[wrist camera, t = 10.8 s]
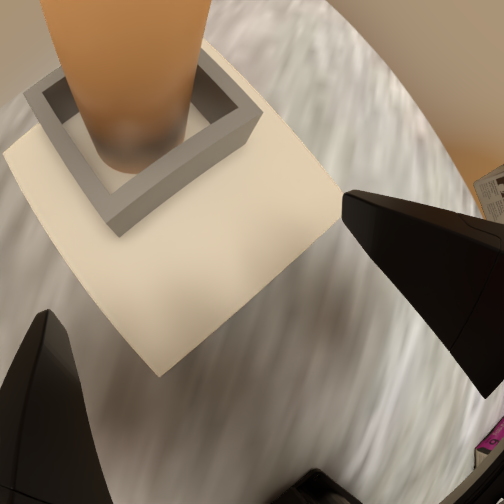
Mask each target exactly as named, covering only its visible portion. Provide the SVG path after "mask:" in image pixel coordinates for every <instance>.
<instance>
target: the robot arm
mask: <svg viewBox="0 0 504 504" xmlns="http://www.w3.org/2000/svg"><path fill="white" fill-rule="evenodd" d="M341 216H342V220H343V222H344V224H345V225H346V227H347V228H348V229H349V230H350V232H351V233H352V234H353V236H354V237H355V238H356V240H357V241H358V242H359V244H360V245H361V246H362V248H363V249H364V250H365V252H366V253H367V254H368V255H369V257H370V258H371V259H372V260H373V261H374V263H375V264H376V265H377V266H378V267H379V268H380V269H381V270H382V271H383V273H384V274H385V275H386V276H387V277H388V278H389V279H390V281H391V282H392V283H393V284H394V285H395V286H396V287H397V289H398V290H399V291H400V292H401V293H402V294H403V296H404V297H405V298H406V299H407V300H408V301H409V303H410V304H411V305H412V306H413V307H414V309H415V310H416V311H417V312H418V313H419V315H420V316H421V317H422V318H423V319H424V321H425V322H426V323H427V324H428V325H429V327H430V328H431V329H432V330H433V332H434V333H435V334H436V335H437V337H438V338H439V339H440V340H441V342H442V343H443V344H444V346H445V347H446V348H447V349H448V351H450V353H451V355H452V356H453V357H454V359H455V360H456V361H457V363H458V364H459V365H460V367H461V368H462V369H463V371H464V372H465V373H466V375H467V376H468V377H469V379H470V380H471V381H472V383H473V384H474V386H475V387H476V388H477V390H478V391H479V393H480V394H481V395H482V396H483V398H484V399H486V398H487V397H488V396H489V395H490V394H491V393H492V392H493V391H494V390H495V389H496V388H497V387H498V386H499V385H500V383H501V382H502V381H503V380H504V224H501V223H497V222H492V221H488V220H484V219H480V218H476V217H472V216H468V215H464V214H461V213H456V212H453V211H449V210H445V209H441V208H437V207H433V206H429V205H425V204H420V203H416V202H412V201H407V200H403V199H398V198H394V197H389V196H384V195H380V194H375V193H370V192H365V191H360V190H351V191H348V192H346V193H344V194H343V196H342V213H341ZM315 475H318V476H317V477H315V478H314V476H315ZM501 498H503V499H504V437H503V438H502V439H501V440H500V442H499V443H498V444H497V445H496V446H495V447H494V449H493V450H492V451H491V452H490V453H489V454H488V456H487V457H486V458H485V459H484V460H483V461H482V462H481V463H480V464H479V465H478V467H477V468H476V469H475V470H474V471H473V472H472V473H471V474H470V475H469V476H468V477H467V478H466V479H465V480H464V481H463V482H462V483H461V484H460V485H459V486H458V487H457V488H456V489H455V490H454V491H453V492H451V493H450V494H449V495H448V496H447V497H446V498H445V499H444V500H443V501H442V502H440V503H439V504H496V503H497V502H498V501H499V500H500V499H501ZM0 504H113V502H112V499H111V496H110V493H109V490H108V487H107V484H106V481H105V478H104V475H103V472H102V469H101V466H100V462H99V459H98V455H97V452H96V448H95V445H94V441H93V437H92V433H91V429H90V425H89V421H88V416H87V412H86V407H85V403H84V398H83V393H82V388H81V383H80V379H79V376H78V372H77V368H76V365H75V361H74V357H73V353H72V350H71V345H70V341H69V337H68V334H67V331H66V329H65V328H64V326H63V325H62V324H61V322H60V321H59V320H58V318H57V317H56V316H55V314H54V313H53V312H52V311H51V310H50V309H47V310H44V311H42V312H40V313H38V314H37V315H36V316H35V318H34V320H33V322H32V324H31V326H30V328H29V329H28V331H27V333H26V335H25V337H24V339H23V341H22V343H21V345H20V347H19V349H18V351H17V353H16V355H15V357H14V359H13V362H12V364H11V366H10V368H9V370H8V372H7V375H6V377H5V379H4V381H3V384H2V386H1V388H0ZM271 504H362V503H361V502H360V501H359V500H358V499H357V498H355V497H354V496H353V495H351V494H350V493H349V492H347V491H346V490H345V489H344V488H342V487H341V486H340V485H338V484H337V483H336V482H335V481H333V480H332V479H331V478H330V477H329V476H327V475H326V474H325V473H324V472H322V471H321V470H320V469H313V470H312V471H310V472H309V473H308V474H307V475H306V476H304V477H303V478H302V479H301V480H300V481H298V482H297V483H296V484H295V485H294V486H292V487H291V488H290V489H289V490H287V491H286V492H285V493H284V494H282V495H281V496H280V497H279V498H277V499H276V500H275V501H273V502H272V503H271ZM499 504H504V500H503V501H502V502H500V503H499Z"/></svg>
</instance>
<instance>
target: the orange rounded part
mask: <svg viewBox="0 0 504 504" xmlns="http://www.w3.org/2000/svg"><path fill="white" fill-rule="evenodd" d="M40 3H41V6H42V9H43V13H44V16H45V19H46V23H47V26H48V29H49V32H50V35H51V38H52V41H53V44H54V47H55V49H56V52H57V55H58V58H59V61H60V64H61V66H62V69H63V72H64V74H65V77H66V80H67V82H68V85H69V87H70V90H71V92H72V95H73V97H74V100H75V102H76V105H77V107H78V110H79V112H80V114H81V117H82V119H83V121H84V124H85V126H86V128H87V131H88V133H89V135H90V138H91V140H92V142H93V144H94V147H95V149H96V151H97V153H98V155H99V157H100V158H101V159H102V160H103V162H104V163H105V164H107V165H108V166H109V167H111V168H112V169H114V170H117V171H119V172H123V173H128V174H139V173H140V172H141V171H143V170H144V169H145V168H147V167H148V166H150V165H151V164H152V163H154V162H155V161H157V160H158V159H159V158H161V157H162V156H164V155H165V154H167V153H168V152H169V151H171V150H172V149H174V148H175V147H177V146H178V145H180V144H181V143H183V141H184V138H185V133H186V126H187V120H188V114H189V108H190V102H191V96H192V90H193V85H194V79H195V74H196V69H197V64H198V59H199V54H200V49H201V44H202V39H203V35H204V30H205V26H206V21H207V17H208V13H209V9H210V4H211V0H40Z"/></svg>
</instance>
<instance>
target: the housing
mask: <svg viewBox="0 0 504 504" xmlns="http://www.w3.org/2000/svg"><path fill="white" fill-rule="evenodd" d="M23 94H24V96H25V98H26V100H27V102H28V103H29V105H30V107H31V109H32V111H33V112H34V114H35V116H36V118H37V119H38V121H39V123H38V124H37V125H35V126H34V127H33V128H32V129H31V130H29V131H28V132H27V133H26V134H24V135H23V136H22V137H21V138H20V139H19V140H17V141H16V142H15V143H14V144H13V145H12V146H11V147H9V148H8V149H7V150H6V151H5V152H4V153H3V155H4V157H5V159H6V161H7V163H8V165H9V167H10V169H11V171H12V173H13V175H14V177H15V179H16V181H17V183H18V184H19V186H20V188H21V190H22V192H23V194H24V195H25V197H26V199H27V201H28V202H29V204H30V206H31V208H32V209H33V211H34V213H35V214H36V216H37V218H38V219H39V221H40V223H41V224H42V226H43V228H44V229H45V231H46V232H47V234H48V236H49V237H50V239H51V240H52V242H53V243H54V245H55V246H56V248H57V250H58V251H59V253H60V254H61V256H62V257H63V258H64V260H65V261H66V263H67V264H68V266H69V267H70V269H71V270H72V272H73V273H74V274H75V276H76V277H77V279H78V280H79V281H80V283H81V284H82V285H83V287H84V288H85V290H86V291H87V292H88V294H89V295H90V296H91V298H92V299H93V300H94V301H95V303H96V304H97V305H98V307H99V308H100V309H101V311H102V312H103V313H104V314H105V316H106V317H107V318H108V319H109V321H110V322H111V323H112V324H113V326H114V327H115V328H116V329H117V330H118V332H119V333H120V334H121V335H122V336H123V338H124V339H125V340H126V341H127V342H128V343H129V345H130V346H131V347H132V348H133V349H134V350H135V352H136V353H137V354H138V355H139V356H140V357H141V358H142V359H143V361H144V362H145V363H146V364H147V365H148V366H149V367H150V368H151V369H152V370H153V372H154V373H155V374H156V375H157V376H158V377H159V378H160V377H161V376H162V375H163V374H165V373H166V372H167V371H168V370H169V369H170V368H172V367H173V366H174V365H175V364H176V363H178V362H179V361H180V360H181V359H182V358H184V357H185V356H186V355H187V354H188V353H189V352H191V351H192V350H193V349H194V348H195V347H196V346H198V345H199V344H200V343H201V342H202V341H203V340H205V339H206V338H207V337H208V336H209V335H210V334H212V333H213V332H214V331H215V330H216V329H217V328H218V327H220V326H221V325H222V324H223V323H224V322H225V321H226V320H228V319H229V318H230V317H231V316H232V315H233V314H234V313H236V312H237V311H238V310H239V309H240V308H241V307H242V306H244V305H245V304H246V303H247V302H248V301H249V300H250V299H251V298H253V297H254V296H255V295H256V294H257V293H258V292H259V291H260V290H262V289H263V288H264V287H265V286H266V285H267V284H268V283H269V282H271V281H272V280H273V279H274V278H275V277H276V276H277V275H278V274H279V273H281V272H282V271H283V270H284V269H285V268H286V267H287V266H288V265H289V264H290V263H292V262H293V261H294V260H295V259H296V258H297V257H298V256H299V255H300V254H301V253H302V252H304V251H305V250H306V249H307V248H308V247H309V246H310V245H311V244H312V243H313V242H314V241H315V240H317V239H318V238H319V237H320V236H321V235H322V234H323V233H324V232H325V231H326V230H327V229H328V228H329V227H331V226H332V225H333V224H334V223H335V222H336V221H337V220H338V219H339V218H340V217H341V213H342V196H343V192H342V191H341V190H340V188H339V187H338V186H337V185H336V183H335V182H334V181H333V179H332V178H331V177H330V176H329V174H328V173H327V172H326V171H325V169H324V168H323V167H322V166H321V164H320V163H319V162H318V161H317V159H316V158H315V157H314V156H313V155H312V153H311V152H310V151H309V150H308V149H307V147H306V146H305V145H304V144H303V143H302V141H301V140H300V139H299V138H298V137H297V136H296V134H295V133H294V132H293V131H292V130H291V129H290V127H289V126H288V125H287V124H286V123H285V122H284V121H283V119H282V118H281V117H280V116H279V115H278V114H277V113H276V112H275V111H274V109H273V108H272V107H271V106H270V105H269V104H268V103H267V102H266V101H265V100H264V98H263V97H262V96H261V95H260V94H259V93H258V92H257V91H256V90H255V89H254V88H253V87H252V86H251V85H250V84H249V83H248V82H247V80H246V79H245V78H244V77H243V76H242V75H241V74H240V73H239V72H238V71H237V70H236V69H235V68H234V67H233V66H232V65H231V64H230V63H229V62H228V61H227V60H226V59H225V58H224V57H223V56H222V55H221V54H220V53H219V52H218V51H217V50H216V49H214V48H213V47H212V46H211V45H210V44H209V43H208V42H207V41H206V40H205V39H204V38H203V39H202V44H201V49H200V54H199V59H198V64H197V69H196V74H195V79H194V85H193V90H192V96H191V102H190V108H189V114H188V120H187V126H186V133H185V138H184V141H183V143H181V144H180V145H178V146H177V147H175V148H174V149H172V150H171V151H169V152H168V153H167V154H165V155H164V156H162V157H161V158H159V159H158V160H157V161H155V162H154V163H152V164H151V165H150V166H148V167H147V168H145V169H144V170H143V171H141V172H140V173H139V174H128V173H123V172H119V171H117V170H114V169H112V168H111V167H109V166H108V165H107V164H105V163H104V162H103V160H102V159H101V158H100V157H99V155H98V153H97V151H96V149H95V147H94V144H93V142H92V140H91V138H90V135H89V133H88V131H87V128H86V126H85V124H84V121H83V119H82V117H81V114H80V112H79V110H78V107H77V105H76V102H75V100H74V97H73V95H72V92H71V90H70V87H69V85H68V82H67V80H66V77H65V74H64V72H63V69H62V66H60V67H59V68H57V69H56V70H54V71H53V72H51V73H50V74H49V75H47V76H46V77H44V78H43V79H41V80H40V81H39V82H37V83H36V84H35V85H33V86H32V87H31V88H29V89H28V90H27V91H25V92H24V93H23Z"/></svg>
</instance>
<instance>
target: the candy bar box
mask: <svg viewBox="0 0 504 504" xmlns="http://www.w3.org/2000/svg"><path fill="white" fill-rule="evenodd" d="M503 437H504V418H503V419H502V420H501V421H500V422H499V424H498V425H497V426H496V427H495V428H494V429H493V430H492V431H491V433H490V434H489V435H488V436H487V437H486V438H485V439H484V440H483V441H482V442H481V443H480V444H479V445H478V446H477V448H476V449H475V469H476V468H477V467H478V465H479V464H480V463H481V462H482V461H483V460H484V459H485V458H486V457H487V456H488V454H489V453H490V452H491V451H492V450H493V449H494V447H495V446H496V445H497V444H498V443H499V442H500V440H501V439H502V438H503Z"/></svg>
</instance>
